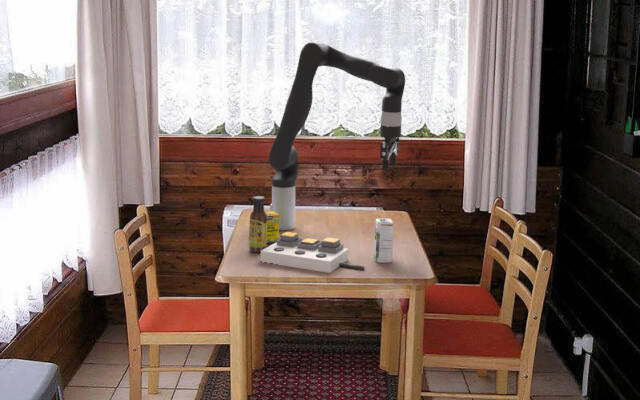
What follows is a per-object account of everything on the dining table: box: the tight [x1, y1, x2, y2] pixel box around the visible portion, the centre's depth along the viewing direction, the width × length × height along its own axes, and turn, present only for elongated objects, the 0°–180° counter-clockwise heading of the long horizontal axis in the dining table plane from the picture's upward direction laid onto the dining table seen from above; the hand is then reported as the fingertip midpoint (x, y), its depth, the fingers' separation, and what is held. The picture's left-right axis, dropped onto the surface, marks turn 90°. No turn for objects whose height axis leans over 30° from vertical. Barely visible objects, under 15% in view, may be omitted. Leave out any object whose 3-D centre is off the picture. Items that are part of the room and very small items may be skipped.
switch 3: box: [321, 237, 341, 248], centre depth 274 cm, size 5×5×2 cm
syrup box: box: [373, 217, 395, 264], centre depth 276 cm, size 6×6×14 cm
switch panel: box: [260, 237, 366, 274], centre depth 273 cm, size 35×16×6 cm, turn 66°
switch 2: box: [301, 237, 320, 246], centre depth 278 cm, size 5×5×2 cm
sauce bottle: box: [248, 195, 268, 253], centre depth 284 cm, size 6×6×20 cm
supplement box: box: [265, 211, 280, 245], centre depth 296 cm, size 6×6×11 cm
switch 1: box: [279, 231, 299, 242], centre depth 281 cm, size 5×5×2 cm
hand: (389, 167), depth 292 cm, fingers open, 8 cm apart
